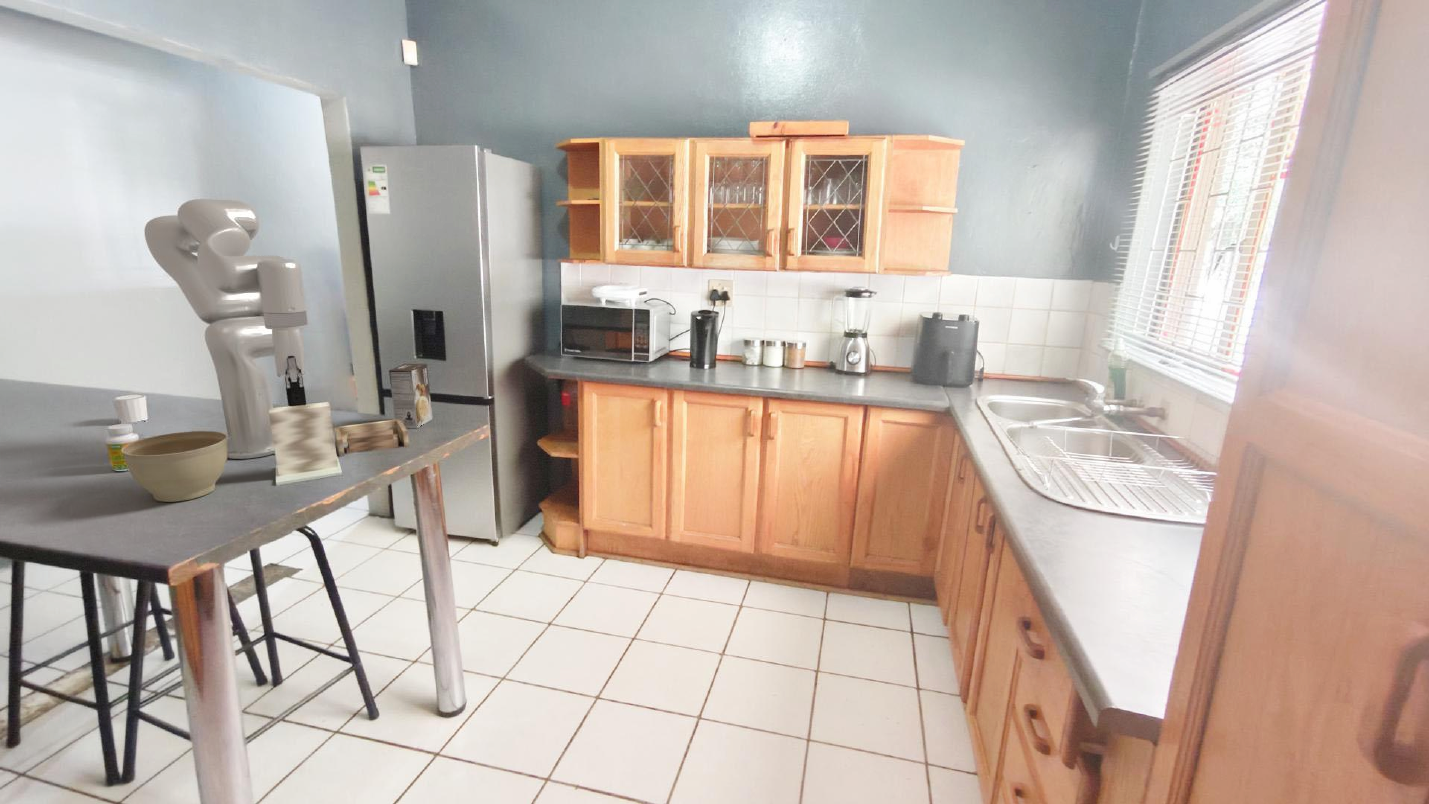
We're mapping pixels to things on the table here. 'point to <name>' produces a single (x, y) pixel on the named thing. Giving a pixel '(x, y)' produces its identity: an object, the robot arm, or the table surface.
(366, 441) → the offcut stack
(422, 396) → the coffee box
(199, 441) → the planter bowl
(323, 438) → the birch sheet
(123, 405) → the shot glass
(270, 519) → the table surface
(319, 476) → the sage board
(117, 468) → the supplement bottle
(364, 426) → the pine rack
